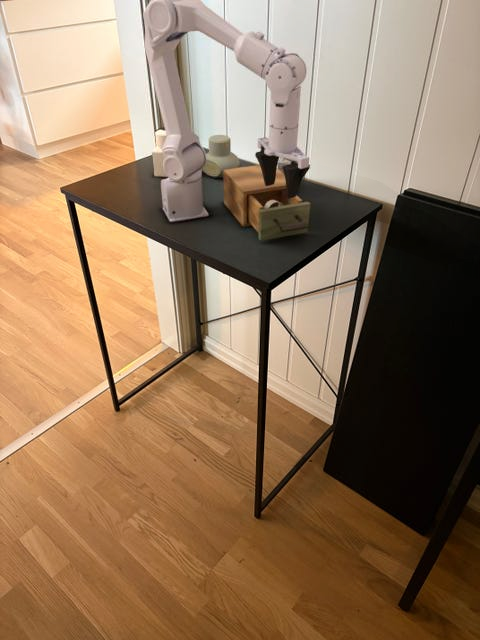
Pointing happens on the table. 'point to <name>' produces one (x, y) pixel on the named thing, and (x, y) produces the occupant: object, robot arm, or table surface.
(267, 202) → the wristwatch
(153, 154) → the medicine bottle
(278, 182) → the cabinet
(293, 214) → the drawer
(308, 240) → the table surface
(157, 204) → the table surface
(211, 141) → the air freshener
